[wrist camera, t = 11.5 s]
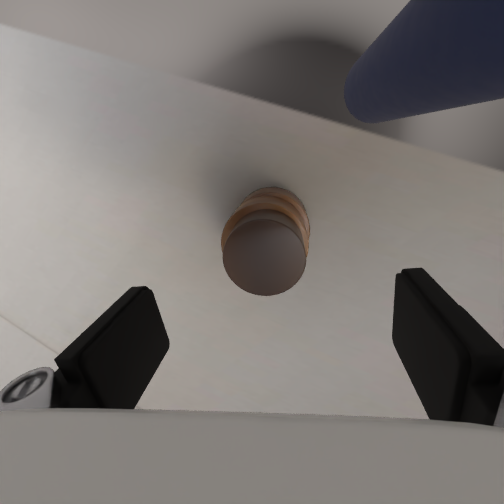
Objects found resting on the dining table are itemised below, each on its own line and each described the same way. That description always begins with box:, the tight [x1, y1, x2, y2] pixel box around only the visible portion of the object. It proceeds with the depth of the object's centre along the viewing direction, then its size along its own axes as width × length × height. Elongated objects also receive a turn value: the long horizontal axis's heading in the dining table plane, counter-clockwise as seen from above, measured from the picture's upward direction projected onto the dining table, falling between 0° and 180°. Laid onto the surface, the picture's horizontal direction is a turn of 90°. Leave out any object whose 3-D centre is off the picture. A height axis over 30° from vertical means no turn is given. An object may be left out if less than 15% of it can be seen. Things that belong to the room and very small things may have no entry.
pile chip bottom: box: [242, 187, 310, 240], centre depth 22 cm, size 6×6×2 cm
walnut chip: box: [223, 209, 306, 296], centre depth 17 cm, size 5×5×2 cm
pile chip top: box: [221, 196, 309, 257], centre depth 19 cm, size 6×6×2 cm
